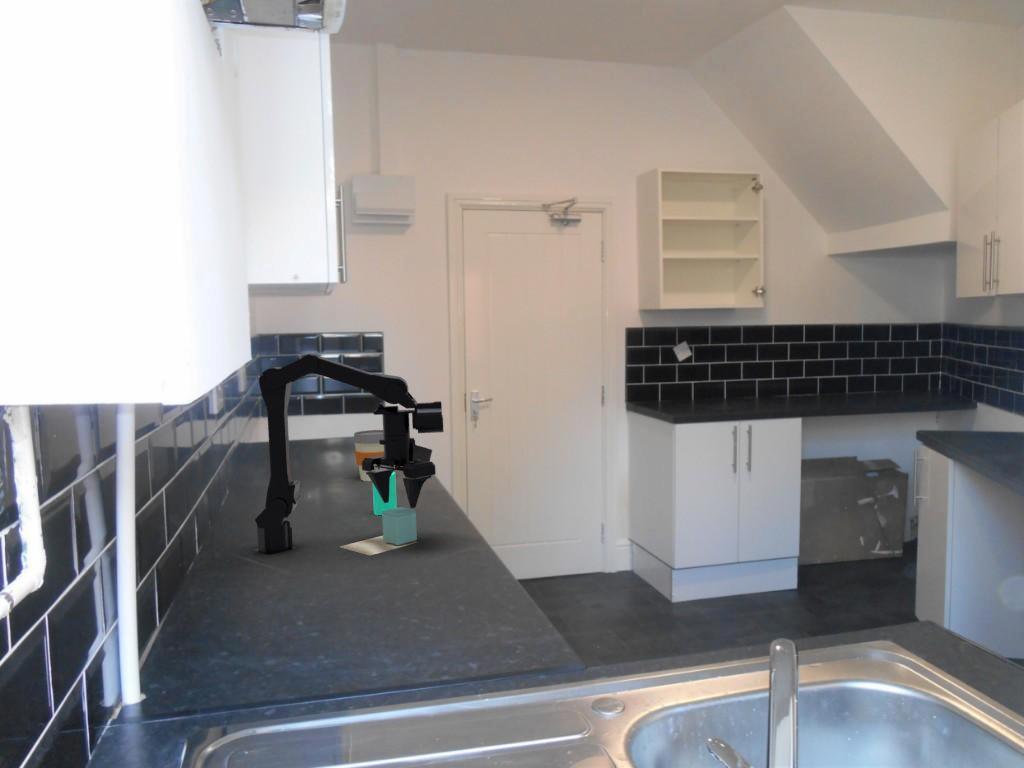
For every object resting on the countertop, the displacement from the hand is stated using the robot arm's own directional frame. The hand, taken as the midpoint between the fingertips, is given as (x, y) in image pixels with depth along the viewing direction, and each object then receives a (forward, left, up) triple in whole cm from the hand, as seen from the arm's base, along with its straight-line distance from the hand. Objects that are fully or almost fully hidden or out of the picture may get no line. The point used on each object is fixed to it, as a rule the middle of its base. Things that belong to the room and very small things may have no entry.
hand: (399, 505), depth 177 cm
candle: (+18, +28, -9) cm, 35 cm away
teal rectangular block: (0, 0, -8) cm, 8 cm away
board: (-4, +3, -9) cm, 10 cm away
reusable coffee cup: (+47, +70, -9) cm, 85 cm away
